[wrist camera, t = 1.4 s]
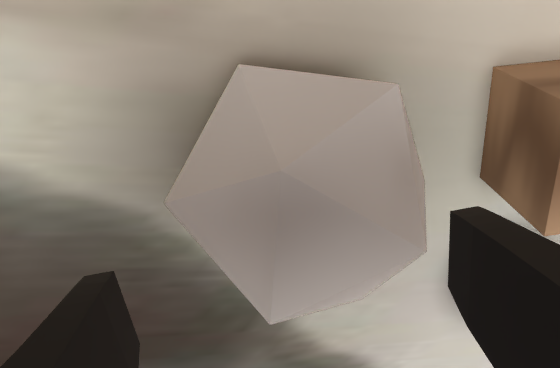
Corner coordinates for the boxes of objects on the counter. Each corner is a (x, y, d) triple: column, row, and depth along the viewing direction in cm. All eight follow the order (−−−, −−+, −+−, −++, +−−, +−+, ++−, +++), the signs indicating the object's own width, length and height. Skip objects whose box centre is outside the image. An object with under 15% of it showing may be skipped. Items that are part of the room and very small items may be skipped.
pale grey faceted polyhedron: (190, 23, 19) (74, 254, 14) (426, -21, 15) (383, 274, 10) (273, 156, 25) (213, 350, 20) (456, 149, 21) (438, 385, 16)
